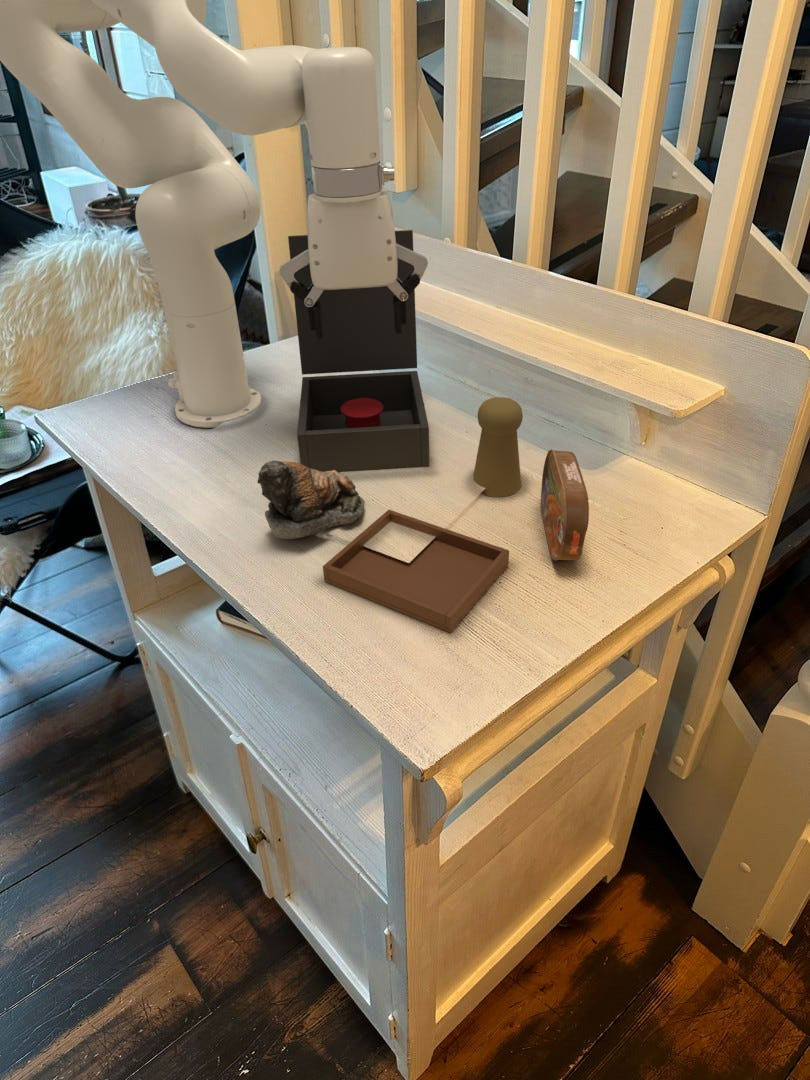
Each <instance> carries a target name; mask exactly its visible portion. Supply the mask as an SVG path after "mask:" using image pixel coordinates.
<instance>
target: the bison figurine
mask: <svg viewBox="0 0 810 1080" xmlns="http://www.w3.org/2000/svg"><path fill="white" fill-rule="evenodd" d="M257 475H258V478H257V484H259V485H260V487H261V495H262V496H263V497H265V498H266V499H267V500H268V501H269V502H268V505H267V506H268V509H267V510H266V511H264V517H265V520H266V522H267V524H268V526H269V528H270V531H271V532H272V534H273V535H274V537H277V538H279V539H283V540H295V539H301V538H304V537H308V536H311V535H312V536H313V535H315V534H319V533H322V532H324V531H325V530H328V529H330V528H333V527H336V526H337V527H338V526H347V525H352V524H353V523H355V521H357V520H358V519H359V518H360V517H361V516H362V515H363V512H364V510H365V505H366V503H365V499H364V498H363V497H361V495H360V494H359V492H358V491H357V490H356V489H357V487H356V485H355V484H354V482H353V481H352V479H350V478H349V477H348V476H347V475H346V474H344V473H342V472H337V471H335V470H333V471H326V472H321V471H318V470H314V469H310V468H307V467H306V466H304V465H301V463H298V462H296V461H286V460H285V461H280V460H271V461H268V462H265V463H264V464H263V465H262V466H261V467H260V470H259V471H258V474H257Z"/></svg>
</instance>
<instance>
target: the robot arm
mask: <svg viewBox="0 0 810 1080" xmlns="http://www.w3.org/2000/svg"><path fill="white" fill-rule="evenodd" d="M207 1H208V0H0V62H1V64H2V65H3V66H4V67H5V69H7V70H8V72H10V74H11V75H12V76H13V77H14V78H15V79H16V80H17V81H18V82H19V83H20V84H22V86H23V87H25V88H26V89H27V90H28V91H29V92H30V94H32V95H33V96H34V97H35V98H36V99H37V100H38V101H39V102H40V103H41V104H42V105H43V106H44V107H45V108H46V109H47V110H48V111H49V112H50V114H51V115H52V116H53V117H54V118H55V120H56V121H57V122H58V124H59V125H60V126H61V127H62V128H63V129H64V131H65V132H66V133H67V134H68V135H69V137H70V138H71V139H72V140H73V141H74V143H75V144H76V145H77V146H78V147H79V149H80V150H81V151H82V152H83V153H84V154H85V156H86V157H87V158H88V159H89V160H90V161H91V162H92V165H94V166H95V167H96V168H97V169H98V171H99V172H100V173H101V174H102V175H103V176H104V178H106V179H107V180H108V181H109V182H110V183H111V184H113V185H114V186H117V187H119V188H122V189H136V188H142V187H145V189H144V190H143V191H142V193H141V194H140V195H139V197H138V199H137V201H136V204H135V212H134V213H135V215H134V216H135V224H136V228H137V230H138V233H139V236H140V239H141V241H142V242H143V245H144V247H145V251H146V252H147V255H148V257H149V260H150V262H151V266H152V268H153V272H154V275H155V278H156V283H157V286H158V289H159V293H160V299H161V303H162V308H163V310H164V316H165V320H166V325H167V330H168V333H169V338H170V344H171V347H172V352H173V357H174V361H175V366H176V369H175V371H174V372H173V378H170V379H168V381H167V386H168V387H169V389H170V388H171V389H173V390H177V391H178V396H179V399H178V400H177V401H176V403H175V405H174V411H175V416H176V418H177V420H179V421H180V422H182V423H183V424H185V425H188V426H192V427H196V428H205V429H207V428H216V427H219V426H220V425H222V424H223V423H225V422H230V421H233V420H237V419H240V418H243V417H245V416H247V415H249V414H252V412H254V411H255V410H257V409H258V408H259V406H260V405H261V403H262V401H263V399H262V395H261V394H260V392H259V391H258V390H256V389H255V388H252V387H250V386H249V379H248V373H247V369H246V361H245V355H244V349H243V342H242V336H241V330H240V324H239V319H238V313H237V306H236V299H235V294H234V288H233V285H232V282H231V279H230V277H229V274H228V273H227V271H226V269H225V268H224V267H223V265H222V264H221V262H220V261H219V259H218V258H217V256H216V253H215V250H217V249H219V248H221V247H224V246H226V245H229V244H232V243H233V242H235V241H238V240H241V239H243V238H244V237H247V236H248V235H249V234H251V233H252V232H253V231H254V230H255V229H256V227H257V226H258V223H259V221H260V217H261V210H262V209H261V203H260V198H259V194H258V192H257V189H256V186H255V185H254V184H253V181H252V180H251V178H250V177H249V175H248V174H247V172H246V171H245V169H243V167H242V165H240V163H239V162H238V160H237V159H235V156H233V155H232V154H231V152H230V151H229V150H228V148H227V147H226V146H225V145H224V144H223V143H222V141H221V140H220V139H219V138H218V136H217V135H216V133H214V131H213V130H212V129H211V127H209V125H208V124H207V123H206V122H205V120H204V119H203V118H202V117H201V116H200V115H199V114H198V112H196V111H195V110H194V109H193V108H192V107H190V106H189V105H188V104H186V103H184V102H183V101H181V100H179V99H177V98H174V97H170V96H154V97H148V98H141V99H137V98H133V97H131V96H129V95H128V94H126V93H125V92H123V90H121V88H120V87H119V86H118V85H117V84H116V83H115V81H113V80H112V78H111V77H110V76H109V74H108V73H107V72H106V70H105V69H104V68H103V67H102V66H101V65H100V64H99V63H98V62H97V61H96V60H95V59H94V58H93V57H91V56H90V55H88V54H87V52H84V51H83V50H82V49H80V48H79V47H77V46H75V45H73V44H72V43H71V42H69V41H68V40H66V39H65V38H64V37H62V36H61V35H59V34H65V33H76V32H77V33H78V32H92V31H93V32H94V31H100V30H104V29H109V28H111V27H113V26H116V25H118V24H120V23H121V24H122V25H123V26H125V27H126V28H128V29H129V30H130V31H131V32H133V33H134V34H136V35H137V37H140V38H141V39H142V40H144V41H145V42H146V43H148V44H149V45H150V46H152V47H153V48H154V50H155V53H156V57H157V59H158V62H159V64H160V67H161V69H162V70H163V72H164V74H165V76H166V78H167V79H168V81H169V83H170V85H171V87H173V89H174V90H175V91H176V92H177V93H178V94H179V96H181V98H182V99H184V100H185V101H186V102H187V103H189V104H190V105H191V106H193V107H194V108H195V109H196V110H198V111H200V112H201V113H202V114H204V115H205V116H206V117H208V118H209V119H210V120H212V121H213V122H214V123H216V124H218V125H219V126H221V127H223V128H224V129H226V130H228V131H231V132H233V133H235V134H238V135H242V136H249V137H250V136H252V137H253V136H258V135H263V134H267V133H270V132H274V131H278V130H282V129H289V128H294V127H297V126H301V125H305V124H306V127H307V137H308V147H309V156H310V165H311V166H310V167H311V177H312V186H313V187H312V188H313V193H311V194H309V195H308V197H307V205H306V206H307V208H306V209H307V210H306V212H307V213H306V218H307V219H306V221H307V222H306V227H307V228H306V229H307V235H308V249H307V250H305V251H304V252H302V253H301V254H299V255H297V256H296V257H294V258H293V259H291V260H288V261H286V262H285V263H283V264H282V265H280V267H279V270H278V272H279V275H280V276H281V278H282V280H283V281H284V282H285V285H286V286H288V288H289V290H290V292H291V293H292V294H293V296H294V295H296V296H297V297H298V298H299V299H300V300H302V301H303V302H304V303H305V305H306V306H307V307H308V314H309V322H310V330H316V336H317V339H321V338H323V325H322V315H321V306H320V301H318V298H319V297H320V295H321V294H322V292H323V291H324V290H339V289H356V288H371V287H382V286H387V287H388V288H389V289H390V290H391V291H392V292H393V293H394V296H393V308H394V326H395V332H396V333H397V334H402V331H401V325H403V324H407V321H406V300H407V299H408V296H409V295H410V294H411V293H412V291H413V290H414V289H415V290H416V289H417V287H418V286H419V285H420V284H421V281H422V280H421V279H422V278H423V276H424V274H425V272H426V270H427V268H428V266H429V265H428V264H429V261H428V258H427V257H426V256H424V255H423V254H421V253H418V252H417V251H414V250H413V251H412V250H410V249H407V248H405V247H403V246H401V245H399V244H397V243H396V238H395V231H396V230H395V220H394V215H393V207H392V202H391V197H390V194H389V191H388V190H387V189H384V188H383V186H384V185H385V183H388V182H391V181H392V182H393V181H395V168H394V166H390V167H389V166H385V165H384V164H383V163H381V152H380V132H379V112H378V111H379V110H378V94H377V92H378V91H377V76H376V64H375V59H374V57H373V55H372V53H371V52H370V51H369V50H368V49H366V48H363V47H359V46H337V47H336V46H335V47H323V48H314V47H308V46H302V45H297V44H294V45H293V44H288V45H287V44H286V45H285V44H284V45H277V46H264V47H255V48H248V49H241V50H240V49H238V48H236V47H234V46H233V45H231V44H230V43H228V42H227V41H225V40H224V39H223V38H221V37H219V36H218V35H216V34H215V33H214V32H212V31H211V30H210V29H208V28H207V27H206V26H205V20H206V16H207V8H208V7H207V5H208V3H207ZM146 186H147V187H146ZM397 258H398V259H401V260H403V261H405V262H407V263H409V264H411V265H413V269H412V272H411V274H410V275H409V276H408V277H407V278H406V279H405V280H404V281H403V282H402V281H401V280H400V279H399V278H398V277H397V270H398V268H397ZM309 263H310V272H311V278H312V284H311V285H310V287H309V288H307V287H306V286H305V285H304V284H302V283H301V282H300V281H299V280H298V279H297V277H296V276H295V272H297V271H298V270H300V269H301V268H303V267H305V266H306V265H308V264H309Z"/></svg>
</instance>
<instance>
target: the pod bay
mask: <svg viewBox="0 0 810 1080" xmlns="http://www.w3.org/2000/svg"><path fill="white" fill-rule="evenodd" d="M300 388H301V389H300V398H299V400H300V401H299V412H298V423H297V431H296V437H297V445H298V446H297V447H298V453H299V460H300V461H299V462H300V464H301V465H304V466H306V467H307V468H310V469H314V470H318V471H321V472H326V471H333V470H335V471H337V472H339V473H347V472H349V473H350V472H363V471H379V470H380V471H381V470H395V469H396V470H397V469H412V468H427V467H429V468H430V427H429V421H428V416H427V411H426V407H425V402H424V397H423V393H422V388H421V382H420V378H419V373H418V370H406V371H390V372H389V371H388V372H386V371H385V372H372V373H368V372H367V373H353V374H351V373H350V374H336V375H335V374H333V375H316V376H302V379H301V387H300ZM359 398H369V399H375V400H377V401H379V402H381V403H382V404H383V411H382V413H380V425H381V426H380V427H363V428H346V421H345V416H344V415H343V414H342V413H341V406H342V405H343V404H344V403H346V402H347V401H350V400H353V399H359Z"/></svg>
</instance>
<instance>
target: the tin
mask: <svg viewBox="0 0 810 1080" xmlns="http://www.w3.org/2000/svg"><path fill="white" fill-rule="evenodd" d="M588 495H589V494H588V491H587V488H586V484H585V481H584V478H583V473H582V471H581V468H580V465H579V462H578V459H577V457H576V455H575V453H574V452H572V451H567V450H554V449H549V450H548V451H547V454H546V456H545V460H544V463H543V469H542V477H541V489H540V509H541V517H542V522H543V527H544V531H545V537H546V541H547V546H548V550H549V554H550V558H551V559H552V561H558V560H560V561H577V560H579V559H580V558H581V557H582V555H583V547H584V544H585V540H586V539H585V538H586V534H587V532H588V528H589V520H590V504H589V496H588Z"/></svg>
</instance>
